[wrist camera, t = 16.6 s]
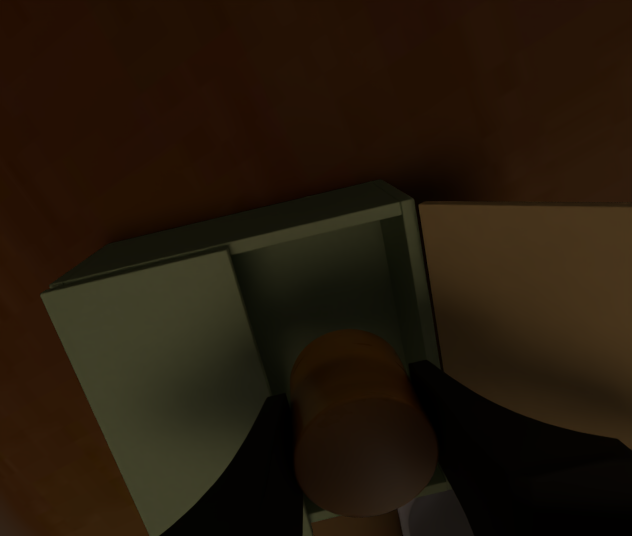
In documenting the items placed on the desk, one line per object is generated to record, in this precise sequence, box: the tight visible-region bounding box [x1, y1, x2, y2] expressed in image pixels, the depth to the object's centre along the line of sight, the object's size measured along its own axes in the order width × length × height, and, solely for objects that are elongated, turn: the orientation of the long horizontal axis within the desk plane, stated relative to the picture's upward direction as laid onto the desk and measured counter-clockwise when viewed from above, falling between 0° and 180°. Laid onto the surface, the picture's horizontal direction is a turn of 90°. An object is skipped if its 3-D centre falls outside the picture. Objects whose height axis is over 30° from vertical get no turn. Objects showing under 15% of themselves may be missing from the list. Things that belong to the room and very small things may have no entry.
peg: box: [290, 329, 439, 517], centre depth 14 cm, size 4×4×4 cm
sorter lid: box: [418, 201, 632, 450], centre depth 15 cm, size 13×6×1 cm
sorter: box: [40, 179, 452, 536], centre depth 20 cm, size 13×13×6 cm
